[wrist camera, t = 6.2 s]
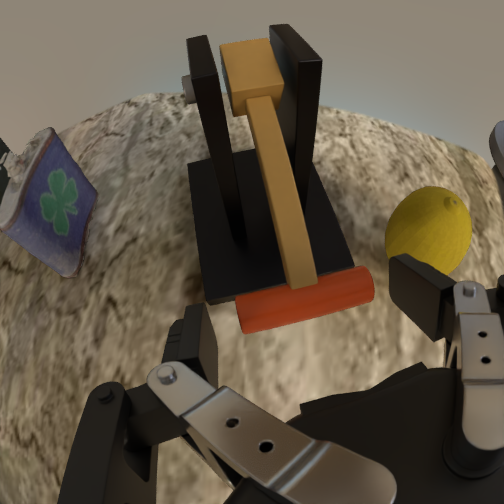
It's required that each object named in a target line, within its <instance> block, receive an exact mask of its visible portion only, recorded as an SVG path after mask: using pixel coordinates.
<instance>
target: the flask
mask: <svg viewBox="0 0 504 504" xmlns="http://www.w3.org/2000/svg"><path fill="white" fill-rule="evenodd" d="M29 143H30V144H29ZM28 144H29V146H28V147H27V148H26V149H25V151H24V152H23V154H21V155H19V156H17V155H16V154H15V155H14V154H13V153H11V151H10V152H9V153H8V155H7V153H5V154H4V155H3V157H2V158H1V160H0V164H2V163H3V162H4V159H5V157H6V155H7V158H6V160H5V162H4V164H3V166H4V167H5V168H6V169H7V171H8V177H11V178H10V180H9V183H8V185H7V188H6V190H5V193H4V196H3V199H2V202H1V206H0V230H2V232H4V233H5V234H6V235H8V236H9V237H10V238H11V239H13V240H14V241H15V242H17V243H18V244H19V245H21V246H22V247H23V248H24V249H26V250H27V251H28V252H29V253H31V254H32V255H33V256H35V257H36V258H38V259H40V260H41V261H42V262H43V263H45V264H46V265H48V266H49V267H51V268H52V269H54V270H55V271H56V272H57V273H59V274H60V275H61V276H63V277H66V278H72V277H76V276H77V273H78V271H79V269H80V268H81V266H82V263H83V260H84V256H83V252H84V248H85V245H86V242H87V240H88V237H89V232H90V230H89V222H90V221H91V220H92V213H93V211H94V209H96V208H95V207H96V203H97V201H98V198H99V194H98V192H97V190H95V188H94V187H93V186H92V185H91V183H90V182H89V181H88V180H87V178H86V177H85V175H84V174H83V172H82V170H81V169H80V167H79V166H78V165H77V163H76V162H75V161H74V160H73V158H72V157H71V155H70V154H69V153H68V151H67V150H66V147H65V146H64V144H63V143H62V141H61V140H60V139H59V137H58V136H57V134H56V132H55V130H54V129H53V128H52V127H48V128H46V129H44V130H42V131H39V132H38V133H37V134H36V135H35V136H34V138H33V139H30V140H29V142H28ZM28 144H27V145H28ZM0 170H1V167H0Z"/></svg>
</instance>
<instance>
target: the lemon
mask: <svg viewBox="0 0 504 504" xmlns="http://www.w3.org/2000/svg"><path fill="white" fill-rule="evenodd" d="M471 237H472V222H471V218H470V214H469V212H468V210H467V208H466V206H465V204H464V203H463V201H462V200H461V199H460V198H459V197H458V196H457V195H456V194H454V193H453V192H451V191H449V190H447V189H445V188H441V187H436V186H429V187H424V188H421V189H418V190H416V191H414V192H412V193H411V194H410V195H409V196H407V197H406V198H405V199H404V200H403V201H401V202H400V204H399V205H398V206H397V208H396V209H395V211H394V212H393V214H392V215H391V217H390V219H389V222H388V225H387V229H386V232H385V249H386V253H387V257H388V259H390V258H391V257H393V256H396V255H400V254H403V253H407V254H409V255H410V256H412V257H414V258H415V259H417V260H418V261H421V262H425V263H428V264H429V265H431V266H433V267H434V268H435V269H437V270H439V271H440V272H441V273H444V274H445V275H448V274H449V273H450V272H452V271H453V270H454V269H455V268H456V267H457V266H458V265H459V264H460V262H461V261H462V259H463V257H464V256H465V254H466V252H467V250H468V248H469V246H470V242H471Z"/></svg>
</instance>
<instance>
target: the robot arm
mask: <svg viewBox="0 0 504 504" xmlns="http://www.w3.org/2000/svg"><path fill="white" fill-rule="evenodd" d="M389 293H390V297H391V299H392V301H393V302H394V303H395V304H396V305H397V306H398V307H399V308H400V309H401V310H402V311H403V312H404V313H405V314H406V315H407V316H408V317H409V318H410V319H411V320H412V321H413V322H414V323H415V324H416V325H417V326H418V327H419V328H420V329H421V330H422V331H423V332H424V333H425V334H426V335H427V336H428V337H429V338H430V339H431V340H432V341H433V342H435V341H437V340H440V339H442V338H444V337H445V338H446V339H445V344H444V361H443V367H441V368H430V369H427V367H426V366H425V365H424V364H423V363H422V362H419V363H417V364H415V365H413V366H410V367H408V368H405V369H403V370H401V371H398V372H396V373H394V374H393V375H391V376H390V377H388V378H387V379H385V380H384V381H382V382H381V383H379V384H377V385H376V386H374V387H373V388H371V389H369V390H365V391H358V392H351V393H343V394H335V395H330V396H327V397H323V398H320V399H316V400H313V401H309V402H305V403H302V404H300V410H301V414H299V415H297V416H295V417H294V418H292V419H291V420H289V421H288V422H286V423H284V422H283V421H281V420H279V419H278V418H276V417H274V416H273V415H271V414H269V413H268V412H266V411H265V410H263V409H261V408H260V407H258V406H257V405H255V404H253V403H252V402H250V401H249V400H247V399H246V398H244V397H243V396H241V395H240V394H238V393H237V392H235V391H234V390H232V389H231V388H229V387H227V386H222V387H220V388H219V389H218V346H217V340H216V336H215V332H214V329H213V326H212V323H211V320H210V317H209V314H208V311H207V308H206V305H205V303H204V302H203V303H198V304H193V305H188V306H186V309H185V314H184V319H179V320H176V321H175V322H174V323H173V325H172V326H171V327H170V329H169V333H168V337H167V341H166V343H167V344H166V345H165V350H164V354H163V358H162V362H161V364H160V365H158V366H156V367H155V368H153V369H152V370H151V371H150V373H149V374H148V376H147V383H145V384H143V385H141V386H138V387H135V388H132V389H129V390H125V389H124V387H123V386H122V385H121V384H120V383H118V382H106V383H103V384H101V385H99V386H97V387H96V388H95V389H94V390H93V391H92V392H91V393H90V394H89V397H88V399H87V402H86V405H85V408H84V411H83V414H82V417H81V420H80V423H79V426H78V429H77V432H76V435H75V438H74V442H73V445H72V448H71V452H70V455H69V459H68V462H67V466H66V470H65V473H64V477H63V481H62V485H61V489H60V494H59V498H58V503H57V504H156V484H157V461H158V445H159V443H162V442H165V441H168V440H171V439H174V438H177V437H179V436H180V438H181V439H182V440H183V441H184V442H185V443H186V444H187V445H188V446H189V447H190V448H191V449H192V450H193V451H194V452H195V453H196V454H197V455H198V456H199V457H200V458H201V459H202V460H203V461H204V462H205V463H206V464H208V465H209V466H210V467H211V468H212V469H213V471H214V472H215V473H216V474H217V475H218V476H219V477H220V478H221V479H222V480H223V481H224V482H225V483H226V484H227V485H228V486H229V487H230V488H231V489H233V492H232V493H231V494H230V496H229V497H228V498H227V500H226V501H225V502H224V503H223V504H504V275H501V276H500V277H499V278H498V283H497V288H493V289H487V290H485V288H484V286H483V285H481V284H480V283H477V282H474V281H461V282H458V283H457V282H456V281H454V280H453V279H451V278H450V277H448V276H447V275H445V274H444V273H441V272H440V271H439V270H437V269H435V268H434V267H433V266H431V265H429V264H428V263H425V262H421V261H418V260H417V259H415V258H414V257H412V256H410V255H409V254H407V253H403V254H400V255H396V256H393V257H391V258H390V259H389Z"/></svg>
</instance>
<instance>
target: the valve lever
mask: <svg viewBox="0 0 504 504" xmlns="http://www.w3.org/2000/svg"><path fill="white" fill-rule="evenodd" d="M219 47H220V56H221V65H222V73H223V77H224V81H225V86H226V90H227V94H228V98H229V102H230V106H231V110H232V114H233V117H238V116H243V115H247V118H248V122H249V126H250V130H251V133H252V137H253V141H254V145H255V149H256V153H257V157H258V161H259V165H260V169H261V173H262V177H263V182H264V186H265V190H266V194H267V198H268V202H269V207H270V211H271V215H272V219H273V224H274V228H275V232H276V237H277V241H278V245H279V250H280V254H281V259H282V263H283V268H284V272H285V277H286V281H287V284H286V285H282V286H278V287H274V288H269V289H265V290H261V291H256V292H252V293H248V294H243V295H239V296H236V297H235V304H236V309H237V314H238V318H239V322H240V326H241V330H242V332H243V334H250V333H254V332H259V331H263V330H268V329H272V328H276V327H280V326H284V325H289V324H293V323H297V322H300V321H304V320H308V319H312V318H316V317H320V316H323V315H327V314H331V313H334V312H338V311H341V310H345V309H348V308H352V307H355V306H358V305H362V304H365V303H368V302H371V301H372V300H373V298H374V293H375V291H374V283H373V279H372V276H371V274H370V272H369V270H368V269H367V268H366V267H365V266H358V267H354V268H350V269H347V270H343V271H339V272H335V273H331V274H327V275H323V276H319V277H317V274H316V269H315V264H314V260H313V255H312V251H311V246H310V242H309V237H308V233H307V229H306V224H305V220H304V216H303V212H302V208H301V204H300V200H299V196H298V192H297V188H296V184H295V180H294V176H293V172H292V169H291V165H290V161H289V157H288V154H287V150H286V146H285V143H284V139H283V136H282V132H281V129H280V125H279V122H278V118H277V115H276V112H275V110H278V109H279V105H280V101H281V97H282V92H283V88H284V84H285V83H284V80H283V77H282V75H281V72H280V69H279V66H278V63H277V61H276V58H275V55H274V52H273V50H272V47H271V44H270V42H269V39H268V38H262V39H254V40H247V41H240V42H234V43H228V44H222V45H220V46H219Z"/></svg>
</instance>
